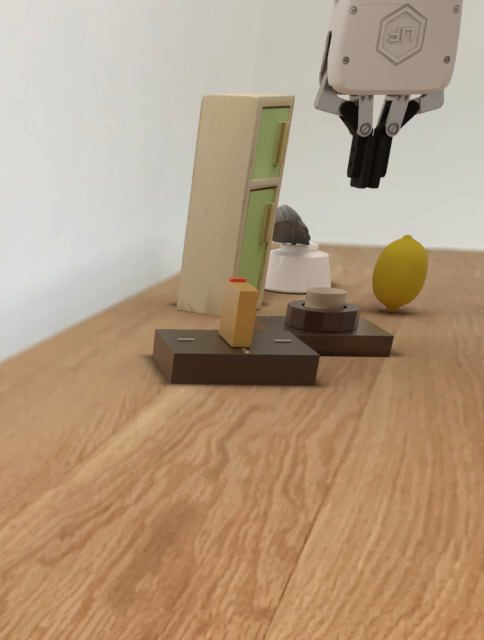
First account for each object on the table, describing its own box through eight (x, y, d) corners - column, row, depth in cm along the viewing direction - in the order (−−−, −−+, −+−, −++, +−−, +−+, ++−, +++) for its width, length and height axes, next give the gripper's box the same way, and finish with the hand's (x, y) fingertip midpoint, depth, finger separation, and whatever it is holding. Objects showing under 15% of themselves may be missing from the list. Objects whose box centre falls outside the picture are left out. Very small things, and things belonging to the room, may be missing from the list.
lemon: (417, 318, 121) (435, 239, 117) (364, 314, 123) (380, 236, 118) (417, 310, 125) (435, 233, 121) (366, 306, 127) (381, 230, 123)
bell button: (336, 306, 107) (340, 287, 106) (348, 313, 104) (352, 294, 103) (299, 306, 107) (302, 287, 106) (309, 313, 104) (313, 293, 103)
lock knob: (250, 347, 93) (260, 287, 90) (231, 347, 93) (240, 287, 90) (236, 334, 98) (244, 276, 95) (218, 334, 98) (226, 276, 95)
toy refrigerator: (233, 319, 120) (265, 94, 109) (174, 310, 124) (200, 93, 113) (268, 310, 125) (303, 94, 114) (211, 301, 129) (238, 92, 118)
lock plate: (282, 365, 101) (289, 328, 99) (313, 392, 92) (320, 353, 91) (151, 363, 101) (155, 327, 100) (169, 390, 93) (174, 351, 91)
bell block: (358, 340, 111) (367, 297, 109) (389, 360, 103) (398, 315, 101) (248, 338, 111) (255, 296, 109) (270, 358, 103) (278, 313, 101)
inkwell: (338, 285, 139) (355, 197, 134) (304, 308, 126) (321, 211, 120) (265, 279, 143) (278, 193, 138) (224, 300, 130) (237, 206, 124)
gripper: (327, -72, 86) (290, 191, 95) (521, -74, 86) (465, 190, 95) (301, -60, 92) (269, 185, 102) (482, -62, 92) (433, 184, 101)
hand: (363, 186), depth 98 cm, fingers closed
